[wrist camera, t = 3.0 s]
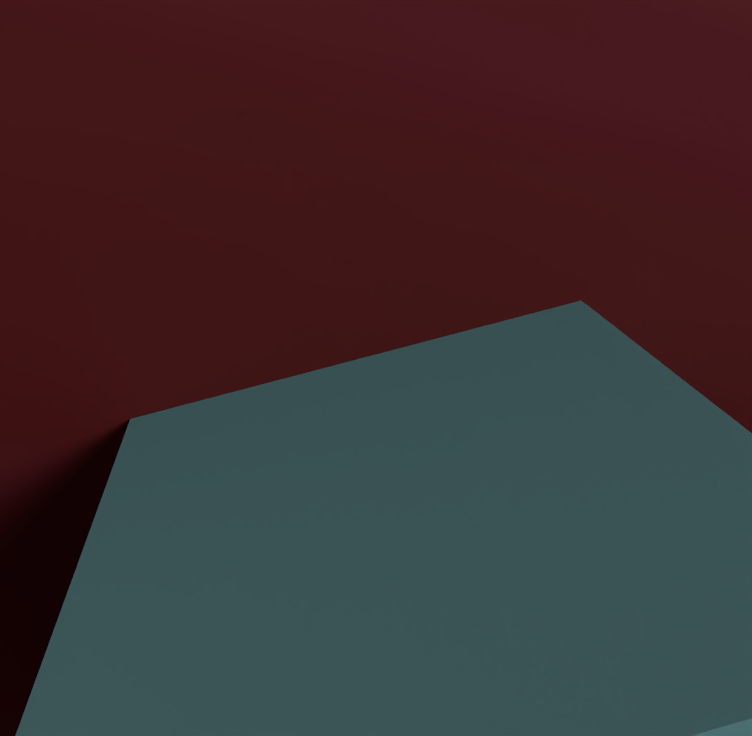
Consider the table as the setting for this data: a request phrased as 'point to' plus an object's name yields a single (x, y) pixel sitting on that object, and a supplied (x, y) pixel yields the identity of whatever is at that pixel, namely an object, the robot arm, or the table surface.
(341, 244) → the table surface
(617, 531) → the cube
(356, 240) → the table surface
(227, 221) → the table surface
